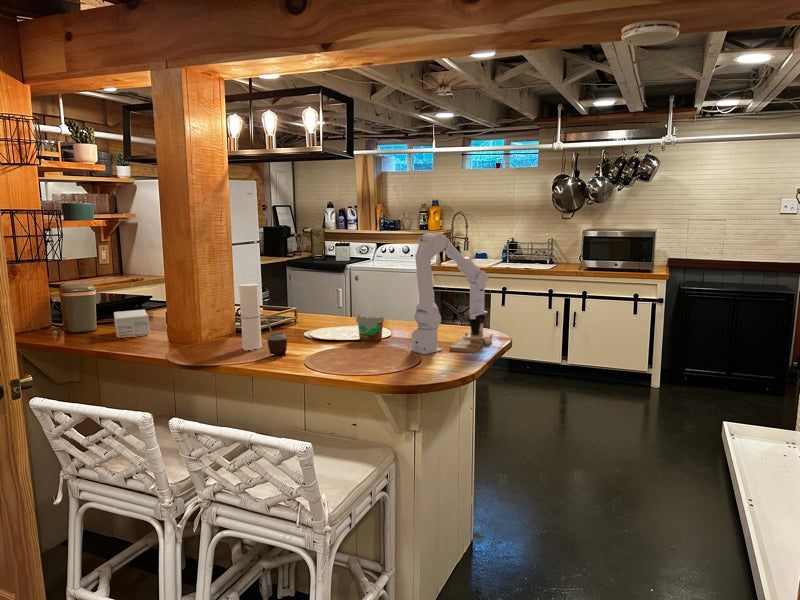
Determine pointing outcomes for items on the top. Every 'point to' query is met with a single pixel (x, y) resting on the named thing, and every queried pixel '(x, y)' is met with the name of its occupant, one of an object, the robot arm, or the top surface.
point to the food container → (370, 328)
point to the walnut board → (467, 345)
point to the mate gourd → (277, 343)
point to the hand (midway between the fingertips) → (476, 333)
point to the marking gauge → (479, 336)
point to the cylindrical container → (250, 316)
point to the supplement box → (131, 323)
